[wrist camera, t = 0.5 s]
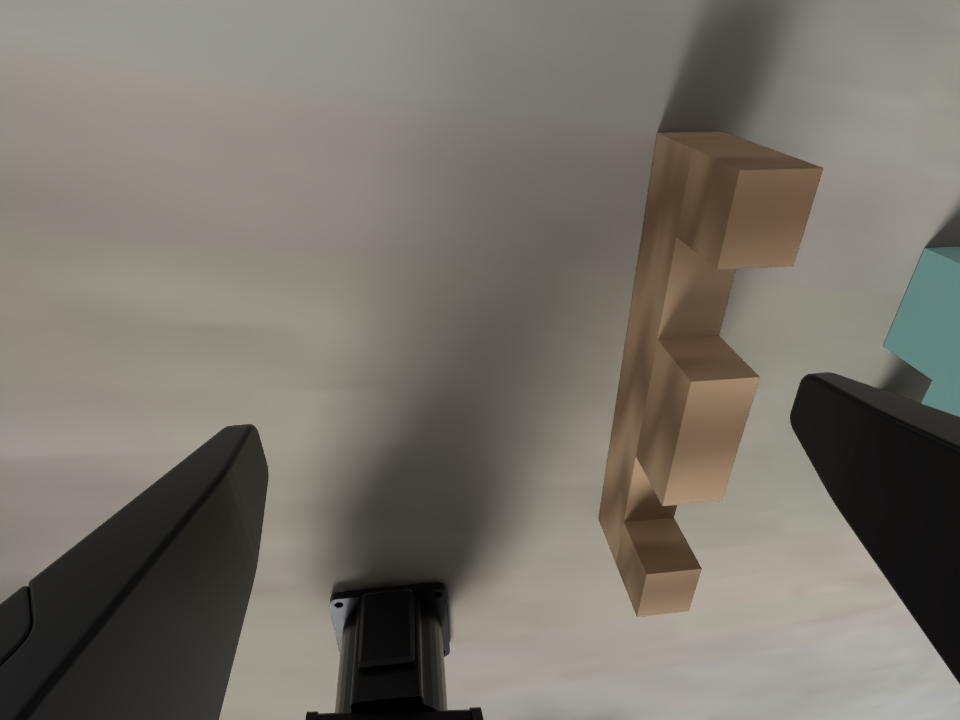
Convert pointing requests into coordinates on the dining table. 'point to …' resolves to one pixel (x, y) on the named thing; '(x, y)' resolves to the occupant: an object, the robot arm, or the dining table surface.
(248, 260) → the dining table surface
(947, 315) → the teal notched plate
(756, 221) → the walnut slotted board
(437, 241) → the dining table surface
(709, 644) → the dining table surface
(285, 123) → the dining table surface
